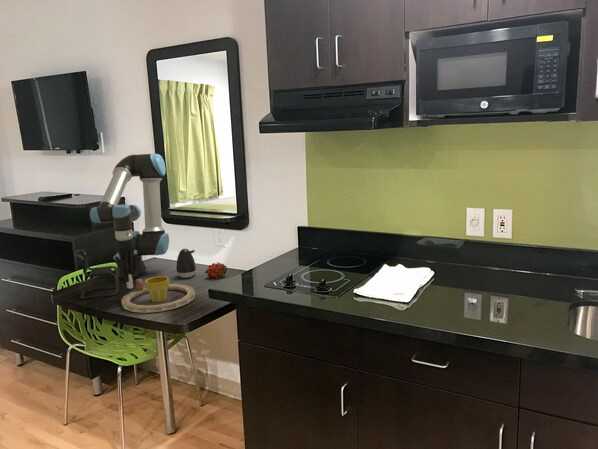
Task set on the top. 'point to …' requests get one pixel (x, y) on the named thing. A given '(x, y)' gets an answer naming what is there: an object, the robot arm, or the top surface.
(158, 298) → the plant pot
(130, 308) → the beige segmented ring
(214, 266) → the dragon fruit
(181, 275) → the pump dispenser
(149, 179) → the robot arm
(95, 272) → the chair
